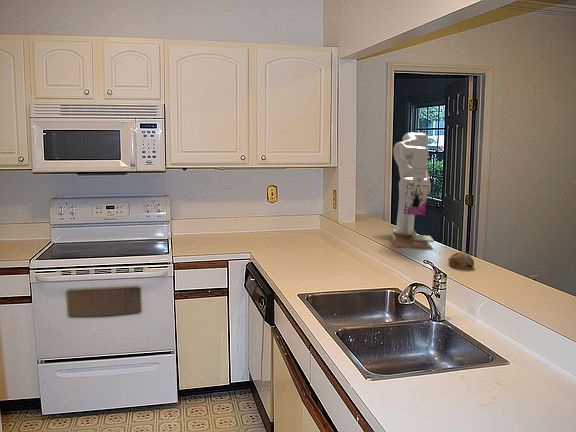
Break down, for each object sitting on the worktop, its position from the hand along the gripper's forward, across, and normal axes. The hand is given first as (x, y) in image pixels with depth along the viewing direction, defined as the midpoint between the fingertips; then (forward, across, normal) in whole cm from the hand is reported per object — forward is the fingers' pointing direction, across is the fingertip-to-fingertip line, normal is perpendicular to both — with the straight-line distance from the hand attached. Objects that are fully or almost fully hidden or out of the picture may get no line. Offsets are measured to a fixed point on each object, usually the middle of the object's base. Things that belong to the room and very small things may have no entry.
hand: (415, 205), depth 286 cm
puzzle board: (+18, -15, +3) cm, 24 cm away
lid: (+15, -15, -3) cm, 21 cm away
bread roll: (+17, -58, -14) cm, 62 cm away
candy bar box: (+5, 0, 0) cm, 5 cm away
